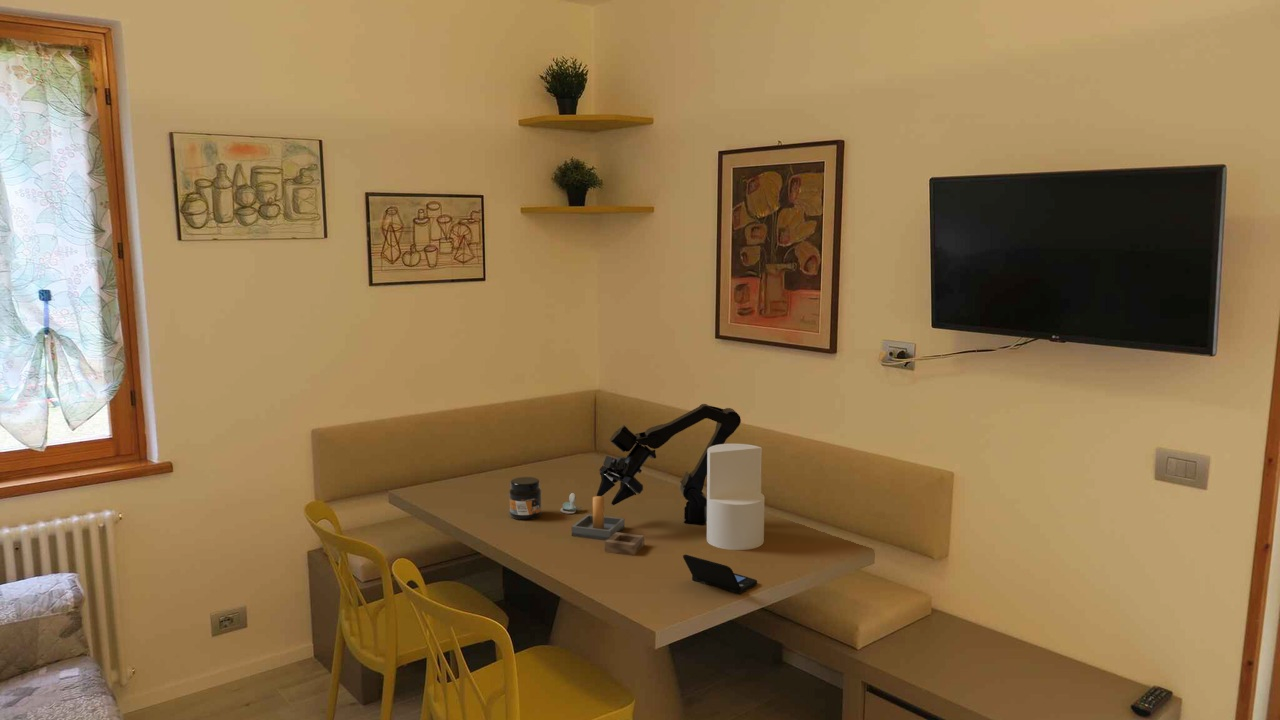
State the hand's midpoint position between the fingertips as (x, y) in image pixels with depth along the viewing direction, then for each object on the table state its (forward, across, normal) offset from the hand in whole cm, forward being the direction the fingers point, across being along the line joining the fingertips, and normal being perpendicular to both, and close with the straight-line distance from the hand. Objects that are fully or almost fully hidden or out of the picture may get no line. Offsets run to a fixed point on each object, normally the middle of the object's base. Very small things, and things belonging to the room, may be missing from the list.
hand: (604, 500), depth 276 cm
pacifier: (+7, -24, +7) cm, 26 cm away
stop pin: (+8, 0, +4) cm, 9 cm away
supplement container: (+17, -27, -3) cm, 33 cm away
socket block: (+9, +17, +5) cm, 20 cm away
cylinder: (-13, +29, +28) cm, 42 cm away
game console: (+5, +54, +10) cm, 55 cm away
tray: (+8, 0, +5) cm, 10 cm away
